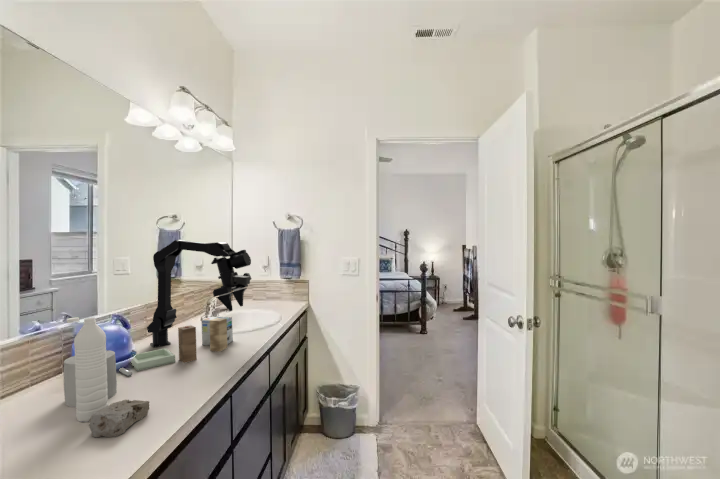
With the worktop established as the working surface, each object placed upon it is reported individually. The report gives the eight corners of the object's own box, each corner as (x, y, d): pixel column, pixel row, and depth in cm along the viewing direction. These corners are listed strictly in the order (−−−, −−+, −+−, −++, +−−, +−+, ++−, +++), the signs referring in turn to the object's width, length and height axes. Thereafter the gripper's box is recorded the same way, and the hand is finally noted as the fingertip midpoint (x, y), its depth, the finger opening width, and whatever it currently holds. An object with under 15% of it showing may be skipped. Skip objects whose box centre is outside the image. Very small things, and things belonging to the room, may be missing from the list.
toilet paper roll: (125, 393, 105) (124, 353, 105) (77, 411, 95) (76, 367, 95) (103, 385, 111) (101, 348, 111) (55, 402, 100) (54, 360, 100)
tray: (129, 362, 131) (129, 355, 131) (165, 354, 140) (165, 347, 140) (137, 370, 123) (136, 363, 123) (175, 361, 131) (175, 355, 131)
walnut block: (179, 360, 133) (178, 327, 133) (191, 356, 136) (190, 324, 136) (183, 362, 130) (182, 329, 129) (196, 359, 133) (195, 326, 133)
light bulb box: (233, 340, 156) (232, 316, 156) (226, 345, 149) (225, 319, 149) (209, 340, 157) (209, 316, 157) (201, 345, 150) (200, 319, 150)
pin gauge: (117, 371, 122) (117, 367, 122) (122, 370, 123) (122, 366, 123) (127, 377, 117) (127, 372, 117) (132, 375, 118) (132, 371, 118)
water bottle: (114, 409, 95) (111, 314, 95) (96, 422, 89) (92, 320, 88) (81, 409, 95) (78, 315, 95) (60, 422, 89) (57, 321, 88)
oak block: (210, 350, 143) (209, 320, 143) (218, 347, 147) (217, 317, 147) (219, 351, 142) (219, 321, 142) (227, 348, 146) (226, 318, 146)
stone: (155, 408, 95) (114, 413, 93) (152, 387, 94) (111, 392, 93) (131, 442, 82) (82, 448, 80) (127, 418, 81) (79, 424, 80)
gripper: (233, 269, 138) (244, 308, 138) (254, 264, 157) (263, 299, 156) (207, 276, 140) (218, 315, 139) (230, 271, 158) (240, 305, 158)
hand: (236, 308), depth 148 cm, fingers open, 9 cm apart
